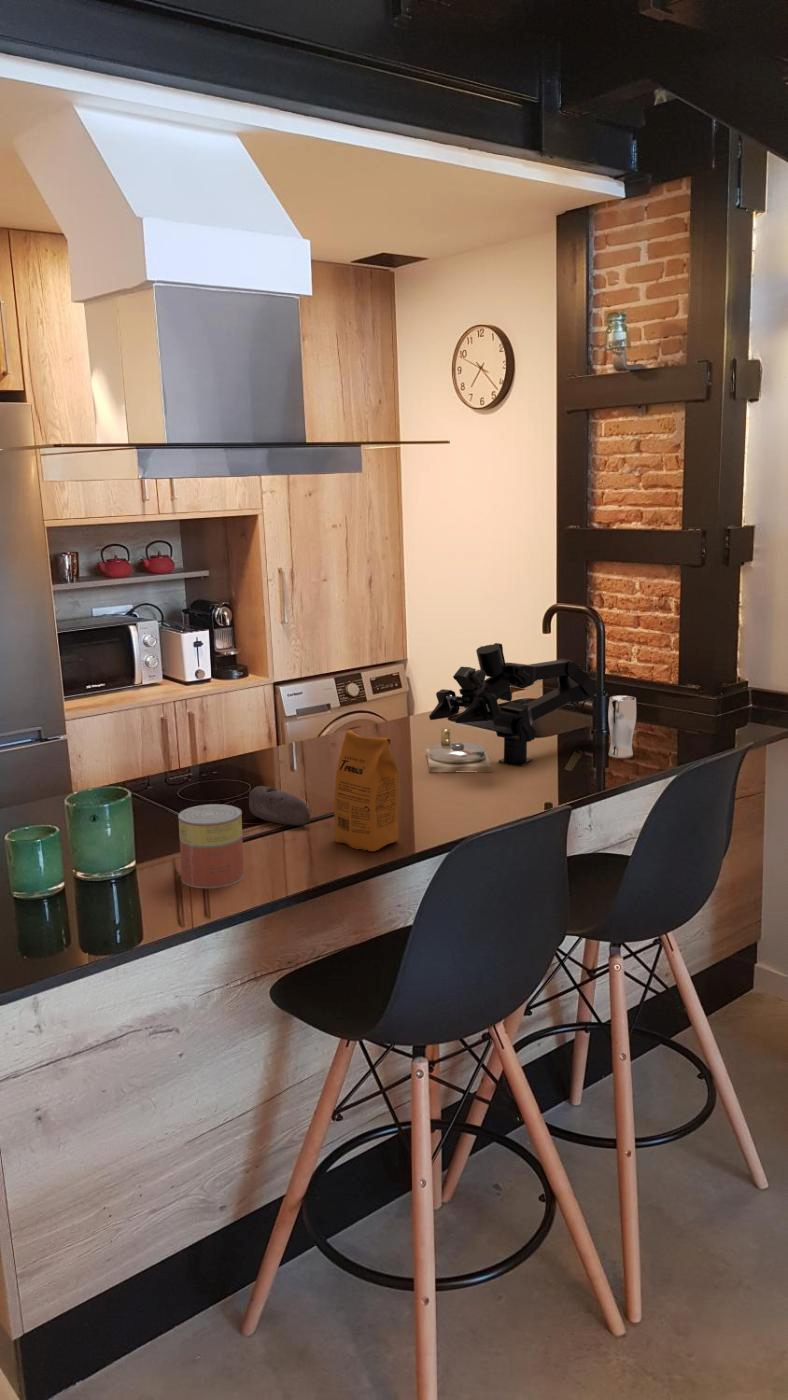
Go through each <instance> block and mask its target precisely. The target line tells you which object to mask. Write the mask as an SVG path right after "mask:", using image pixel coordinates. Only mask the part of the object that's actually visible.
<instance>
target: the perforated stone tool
mask: <svg viewBox="0 0 788 1400" xmlns="http://www.w3.org/2000/svg"><path fill="white" fill-rule="evenodd" d="M248 795H249V797H248V798H249V799H248V802H249V803H248V804H249V805H248V808H249V811H250V812H251V814H252V815H253V816H255V817H257V818H259V819H261V820H263V821H266V822H271V823H275V824H280V825H286V826H291V827H292V826H295V827H299V826H305V825H306V824H307V823H308V822H309V821H310V818H311V813H310V810H309V808H308V806H307V804H306V803H305V802H304V801H303V800H302V799H301V798H300V797H298V796H296V795H293V794H291V793H288V792H287V791H283V790H281V789H278V788H274V787H270V786H266V785H265V786H264V785H258V786H255V787H254V788H253V789H251V790H250V791H249V794H248Z"/></svg>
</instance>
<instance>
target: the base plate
mask: <svg viewBox="0 0 788 1400" xmlns="http://www.w3.org/2000/svg"><path fill="white" fill-rule="evenodd" d="M425 753H426V754H427V755H426V760H428V761H427V766H428V773H429V772H456V771H477V772H476V773H492V764H491V761H490V759H489V756H488V754H487V753H486V758H485V759H483V760H481V761H477V762H471V763H445V762H440V761H436V760H433V759H432V758H430V748H426V752H425Z"/></svg>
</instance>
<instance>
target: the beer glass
mask: <svg viewBox="0 0 788 1400" xmlns="http://www.w3.org/2000/svg"><path fill="white" fill-rule="evenodd" d="M607 711H608V712H607V713H608V716H607V717H608V719H607V721H608V728H609V734H610V746H609V751H608V756H610V757H611V758H616V759H630V758H632V757H633V755H634V753H633V743H632V742H633V737H634V731H635V727H636V722H637V698H636V697H635V696H631V695H630V696H629V695H612V696H610V697H609V701H608V710H607Z"/></svg>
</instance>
